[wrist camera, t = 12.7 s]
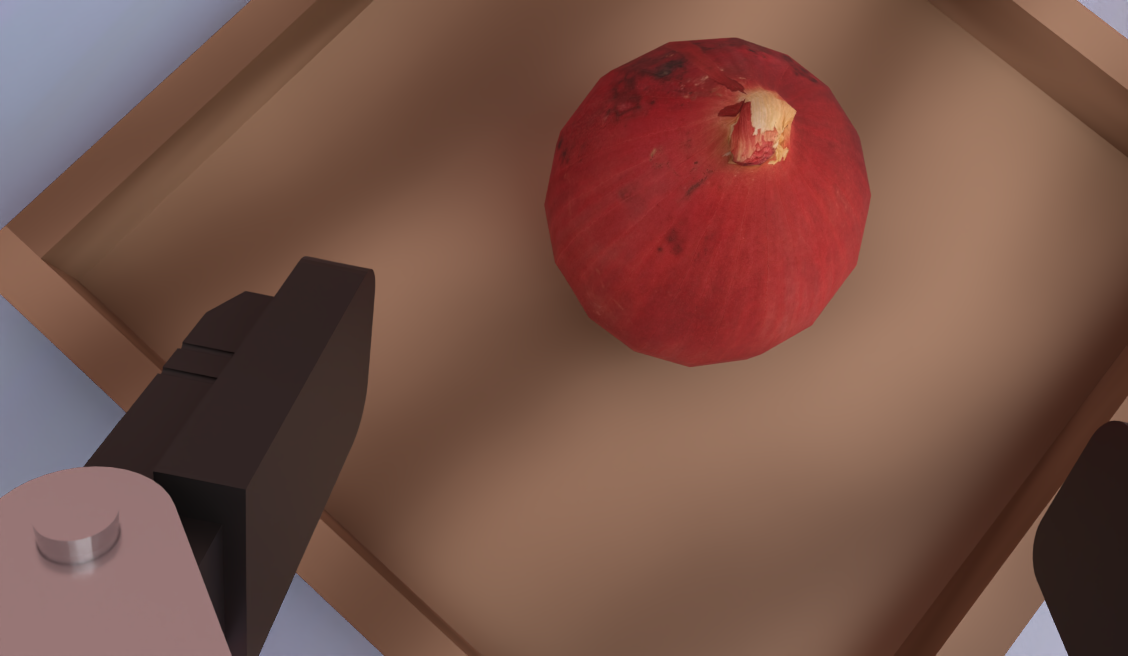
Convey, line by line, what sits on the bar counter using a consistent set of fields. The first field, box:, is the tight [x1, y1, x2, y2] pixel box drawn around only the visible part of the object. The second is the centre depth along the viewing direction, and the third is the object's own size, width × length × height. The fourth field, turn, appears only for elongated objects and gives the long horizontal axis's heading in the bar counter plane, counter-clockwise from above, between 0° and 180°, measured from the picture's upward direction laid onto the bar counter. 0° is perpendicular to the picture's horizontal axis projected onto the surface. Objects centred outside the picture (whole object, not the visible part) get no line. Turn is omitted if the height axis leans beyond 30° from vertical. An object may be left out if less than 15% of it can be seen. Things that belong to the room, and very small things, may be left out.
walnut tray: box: [0, 0, 1128, 656], centre depth 21 cm, size 20×20×2 cm
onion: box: [544, 37, 871, 367], centre depth 18 cm, size 6×6×8 cm
